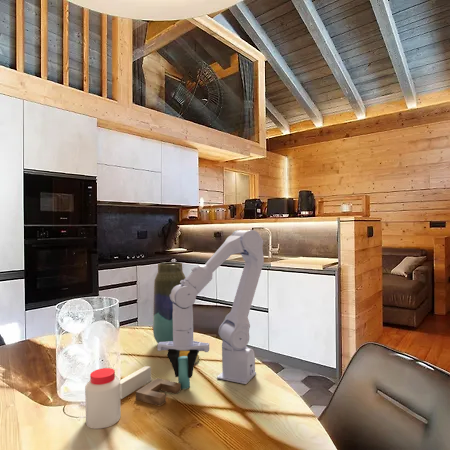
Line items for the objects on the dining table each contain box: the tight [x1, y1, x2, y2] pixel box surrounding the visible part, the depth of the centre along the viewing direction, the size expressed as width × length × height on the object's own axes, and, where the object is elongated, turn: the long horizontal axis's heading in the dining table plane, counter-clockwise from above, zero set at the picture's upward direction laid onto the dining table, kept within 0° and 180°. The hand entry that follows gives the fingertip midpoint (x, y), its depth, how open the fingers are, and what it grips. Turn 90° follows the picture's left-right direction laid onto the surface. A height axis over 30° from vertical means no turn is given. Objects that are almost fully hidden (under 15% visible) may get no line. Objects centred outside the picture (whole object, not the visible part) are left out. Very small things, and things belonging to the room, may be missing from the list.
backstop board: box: [119, 365, 152, 400], centre depth 97 cm, size 2×12×4 cm, turn 153°
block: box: [135, 377, 182, 407], centre depth 93 cm, size 8×9×2 cm
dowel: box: [177, 356, 191, 390], centre depth 97 cm, size 3×3×8 cm
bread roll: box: [179, 351, 200, 364], centre depth 116 cm, size 8×9×4 cm
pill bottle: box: [84, 367, 122, 430], centre depth 81 cm, size 8×8×11 cm
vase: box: [152, 261, 187, 344], centre depth 132 cm, size 14×14×31 cm
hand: (184, 376), depth 97 cm, fingers closed on dowel, 3 cm apart
